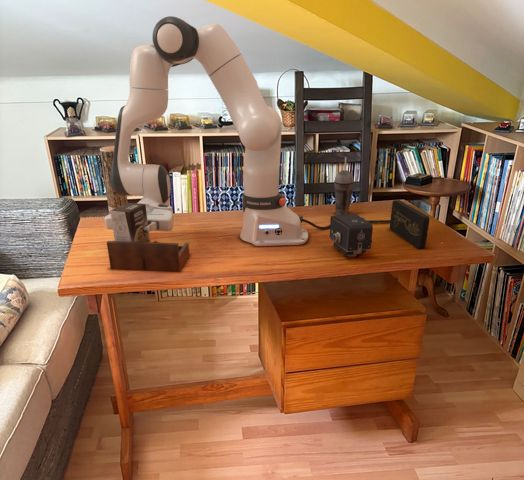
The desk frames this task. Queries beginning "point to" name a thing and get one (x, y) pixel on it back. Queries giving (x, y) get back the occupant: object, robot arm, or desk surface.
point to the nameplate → (409, 223)
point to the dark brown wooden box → (147, 255)
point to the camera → (351, 233)
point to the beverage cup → (343, 190)
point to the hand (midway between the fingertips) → (132, 229)
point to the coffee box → (130, 223)
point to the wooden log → (112, 196)
